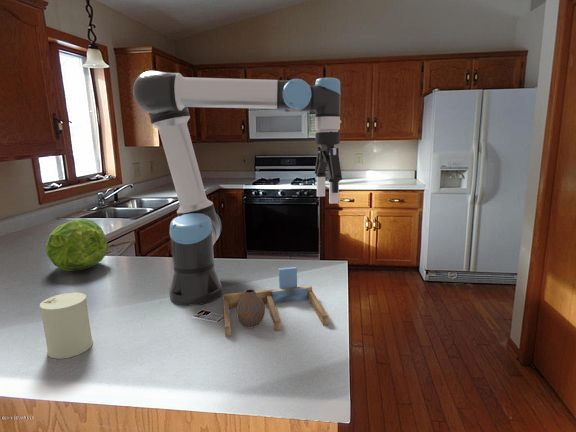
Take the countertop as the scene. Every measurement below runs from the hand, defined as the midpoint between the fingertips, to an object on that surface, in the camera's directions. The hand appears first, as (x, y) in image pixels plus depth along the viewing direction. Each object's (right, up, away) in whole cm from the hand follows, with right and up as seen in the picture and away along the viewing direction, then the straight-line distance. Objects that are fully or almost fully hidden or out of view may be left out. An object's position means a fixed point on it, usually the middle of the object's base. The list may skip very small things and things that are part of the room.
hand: (327, 199), depth 127 cm
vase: (-22, -32, -27) cm, 47 cm away
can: (-62, -35, -36) cm, 80 cm away
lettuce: (-89, -24, +19) cm, 94 cm away
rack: (-16, -31, -23) cm, 42 cm away
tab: (-12, -26, -13) cm, 32 cm away
